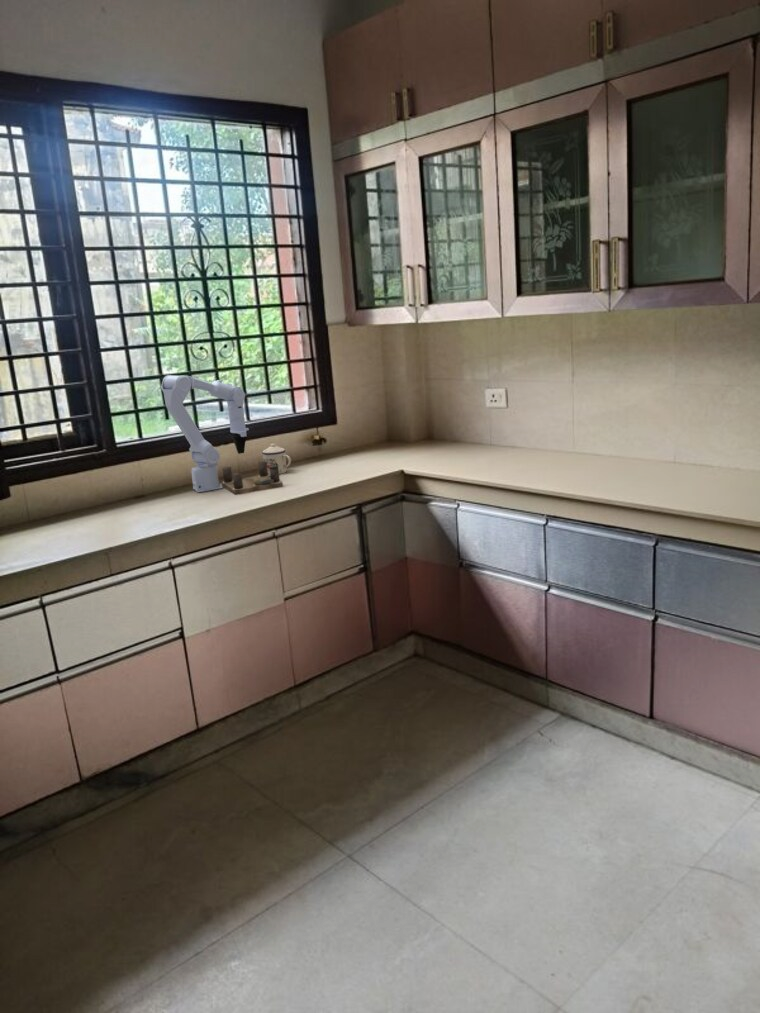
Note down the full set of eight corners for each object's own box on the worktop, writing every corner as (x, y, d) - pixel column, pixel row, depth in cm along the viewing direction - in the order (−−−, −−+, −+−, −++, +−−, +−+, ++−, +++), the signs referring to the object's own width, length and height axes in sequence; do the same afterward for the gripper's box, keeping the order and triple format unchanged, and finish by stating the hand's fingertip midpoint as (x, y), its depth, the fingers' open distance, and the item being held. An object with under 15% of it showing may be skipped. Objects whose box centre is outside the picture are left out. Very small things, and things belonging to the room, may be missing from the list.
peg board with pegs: (235, 494, 277) (232, 475, 275) (221, 485, 293) (219, 467, 291) (283, 486, 284) (281, 467, 282) (268, 478, 300) (266, 460, 299)
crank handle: (256, 485, 280) (254, 470, 279) (253, 483, 283) (251, 468, 282) (281, 480, 284) (279, 465, 283) (277, 479, 287) (276, 464, 286)
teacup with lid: (260, 474, 308) (256, 445, 305) (273, 469, 316) (270, 441, 313) (285, 475, 303) (282, 446, 300) (298, 470, 310) (295, 442, 307)
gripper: (252, 418, 290) (256, 454, 294) (241, 415, 303) (245, 449, 307) (234, 421, 288) (238, 456, 291) (224, 417, 300) (228, 451, 304)
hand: (241, 453), depth 299 cm, fingers closed
